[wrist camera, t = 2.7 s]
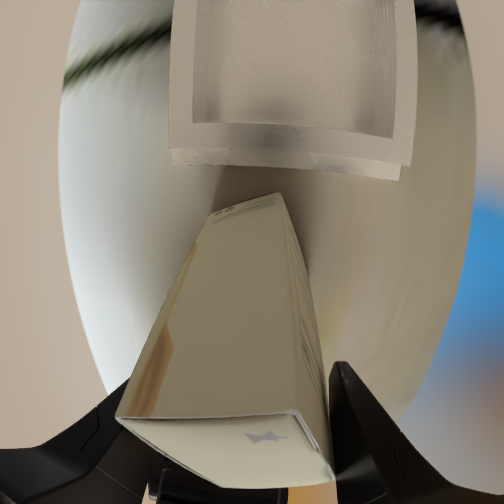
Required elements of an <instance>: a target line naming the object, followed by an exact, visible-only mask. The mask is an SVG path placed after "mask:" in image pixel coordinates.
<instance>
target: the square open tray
mask: <svg viewBox="0 0 504 504" xmlns="http://www.w3.org/2000/svg"><path fill="white" fill-rule="evenodd" d="M417 86H418V53H417V32H416V19H415V9H414V1H413V0H174V8H173V18H172V30H171V45H170V64H169V148H172V165H233V166H260V167H278V168H292V169H305V170H316V171H326V172H336V173H345V174H353V175H361V176H368V177H375V178H382V179H389V180H395V181H399V176H400V169H401V165H405V166H411V159H412V151H413V142H414V133H415V122H416V108H417Z"/></svg>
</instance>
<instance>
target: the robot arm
mask: <svg viewBox="0 0 504 504" xmlns="http://www.w3.org/2000/svg"><path fill="white" fill-rule="evenodd" d="M129 379H130V378H128V379H127V380H126V381H125V382H124V383H123V384H122V385H120V386H119V387H118V388H117V389H116V390H115V391H113V392H112V393H111V394H110V395H109V396H108V397H107V398H106V399H104V400H103V401H102V402H101V403H100V404H98V405H97V407H95V408H93V409H92V410H91V411H90V412H89V413H88V414H86V415H85V416H84V417H83V418H81V419H80V420H79V421H77V422H76V423H74V424H73V425H72V426H70V427H69V428H67V429H66V430H64V431H63V432H61V433H60V434H58V435H56V436H55V437H53V438H52V439H50V440H49V441H47V442H45V443H43V444H41V445H39V446H36V447H32V448H18V449H0V504H142V499H143V496H144V493H145V490H146V486H147V483H148V489H149V498H150V499H151V500H155V501H156V504H287V502H288V487H283V488H263V489H246V488H224V487H220V486H218V485H216V484H214V483H212V482H210V481H208V480H206V479H204V478H202V477H200V476H198V475H196V474H195V473H193V472H191V471H189V470H187V469H186V468H184V467H182V466H181V465H179V464H177V463H175V462H174V461H172V460H171V459H169V458H168V457H166V456H164V455H163V454H161V453H160V452H158V451H157V450H155V449H154V448H153V447H151V446H150V445H148V444H147V443H146V442H145V441H142V440H141V439H140V438H139V437H137V436H136V435H135V434H133V433H132V432H131V431H129V430H128V429H127V428H126V427H125V426H123V425H122V424H121V423H119V422H118V421H117V420H116V419H115V414H116V411H117V409H118V406H119V404H120V401H121V399H122V397H123V394H124V392H125V389H126V387H127V384H128V382H129ZM329 422H330V430H331V439H332V447H333V456H334V466H335V477H336V487H337V499H338V504H504V494H503V495H495V494H490V493H484V492H481V491H476V490H472V489H468V488H464V487H461V486H458V485H455V484H453V483H451V482H449V481H448V480H446V479H445V478H444V477H443V476H442V475H441V474H440V473H439V472H438V471H437V470H436V469H435V468H434V467H433V466H432V465H431V464H430V463H429V462H428V461H427V460H426V459H425V458H424V457H423V456H422V455H421V454H420V453H419V452H418V451H417V450H416V449H415V447H414V446H413V445H412V444H411V443H410V441H409V440H408V439H407V438H406V437H405V435H404V434H403V433H402V432H401V431H400V429H399V428H398V426H397V425H396V424H395V422H394V421H393V420H392V419H391V417H390V416H389V415H388V413H387V412H386V411H385V410H384V408H383V407H382V406H381V404H380V403H379V402H378V401H377V399H376V398H375V397H374V395H373V394H372V393H371V392H370V390H369V389H368V388H367V386H366V385H365V384H364V383H363V381H362V380H361V379H360V378H359V376H358V375H357V374H356V372H355V371H354V370H353V369H352V367H351V366H350V365H349V363H348V362H346V361H336V362H335V363H334V365H333V368H332V370H331V373H330V376H329Z"/></svg>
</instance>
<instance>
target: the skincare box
mask: <svg viewBox="0 0 504 504" xmlns="http://www.w3.org/2000/svg"><path fill="white" fill-rule="evenodd" d="M115 419H116V420H117V421H118V422H119V423H121V424H122V425H123V426H125V427H126V428H127V429H128V430H129V431H131V432H132V433H133V434H135V435H136V436H137V437H139V438H140V439H141V440H142V441H145V442H146V443H147V444H148V445H150V446H151V447H153V448H154V449H155V450H157V451H158V452H160V453H161V454H163V455H164V456H166V457H168V458H169V459H171V460H172V461H174V462H175V463H177V464H179V465H181V466H182V467H184V468H186V469H187V470H189V471H191V472H193V473H195V474H196V475H198V476H200V477H202V478H204V479H206V480H208V481H210V482H212V483H214V484H216V485H218V486H220V487H224V488H246V489H263V488H283V487H296V486H306V485H315V484H321V483H326V482H330V481H332V480H335V479H336V477H335V466H334V456H333V447H332V439H331V430H330V422H329V403H328V395H327V387H326V380H325V373H324V366H323V359H322V353H321V346H320V340H319V334H318V328H317V322H316V316H315V310H314V304H313V299H312V293H311V288H310V282H309V278H308V274H307V270H306V266H305V262H304V259H303V256H302V252H301V249H300V246H299V242H298V239H297V236H296V233H295V230H294V227H293V224H292V221H291V219H290V216H289V213H288V210H287V208H286V205H285V202H284V200H283V197H282V195H281V193H280V192H277V193H273V194H270V195H266V196H262V197H259V198H255V199H252V200H249V201H246V202H242V203H239V204H236V205H233V206H230V207H227V208H225V209H222V210H219V211H217V212H214V213H212V214H210V215H209V216H208V218H207V220H206V222H205V223H204V225H203V227H202V229H201V231H200V233H199V235H198V236H197V238H196V240H195V242H194V244H193V246H192V248H191V250H190V252H189V254H188V256H187V258H186V260H185V262H184V263H183V265H182V267H181V269H180V271H179V273H178V275H177V277H176V279H175V281H174V283H173V285H172V288H171V289H170V291H169V294H168V296H167V298H166V300H165V302H164V304H163V306H162V308H161V310H160V312H159V315H158V317H157V319H156V321H155V323H154V325H153V327H152V329H151V332H150V334H149V336H148V339H147V341H146V343H145V345H144V347H143V349H142V352H141V354H140V356H139V359H138V361H137V363H136V366H135V368H134V370H133V372H132V375H131V377H130V379H129V382H128V384H127V387H126V389H125V392H124V394H123V397H122V399H121V401H120V404H119V406H118V409H117V411H116V414H115Z"/></svg>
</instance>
